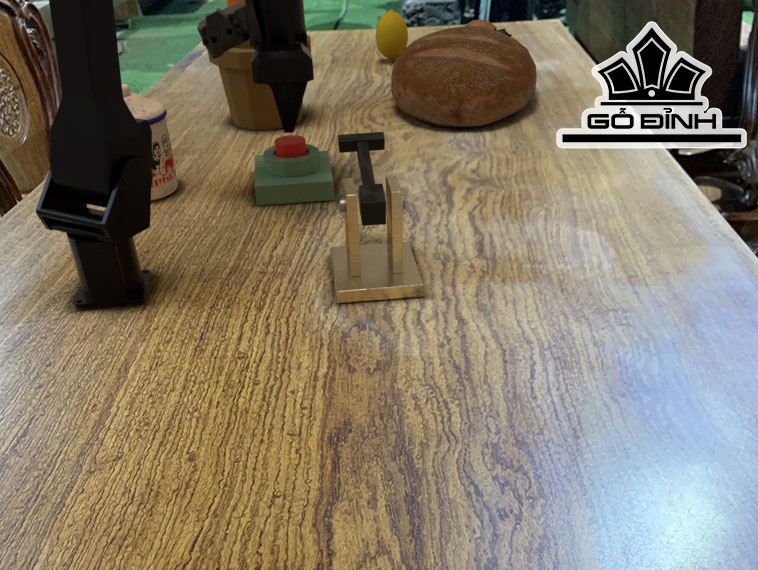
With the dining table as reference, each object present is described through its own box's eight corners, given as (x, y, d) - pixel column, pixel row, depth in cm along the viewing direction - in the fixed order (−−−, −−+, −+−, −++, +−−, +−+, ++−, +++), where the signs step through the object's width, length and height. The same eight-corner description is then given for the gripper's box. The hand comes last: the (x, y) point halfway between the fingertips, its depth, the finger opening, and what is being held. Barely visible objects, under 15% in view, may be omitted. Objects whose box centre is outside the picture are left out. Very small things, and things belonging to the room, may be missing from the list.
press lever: (338, 151, 82) (337, 128, 80) (383, 148, 83) (383, 125, 81) (349, 227, 76) (348, 204, 74) (398, 223, 76) (398, 200, 74)
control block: (334, 200, 96) (332, 164, 93) (256, 205, 95) (252, 170, 93) (328, 168, 104) (326, 135, 101) (257, 173, 103) (253, 139, 101)
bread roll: (475, 51, 150) (476, 28, 147) (444, 43, 155) (445, 21, 152) (517, 41, 154) (519, 19, 152) (486, 34, 159) (487, 12, 157)
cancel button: (307, 159, 96) (305, 143, 95) (276, 161, 96) (274, 145, 95) (306, 149, 99) (304, 134, 98) (275, 151, 99) (274, 136, 97)
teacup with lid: (167, 205, 96) (145, 96, 88) (92, 203, 97) (64, 96, 89) (196, 169, 105) (178, 68, 98) (127, 169, 106) (105, 68, 98)
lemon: (372, 65, 144) (370, 12, 138) (381, 57, 148) (380, 6, 142) (403, 66, 142) (402, 13, 137) (411, 59, 146) (411, 6, 141)
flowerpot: (296, 137, 114) (271, -139, 94) (202, 131, 117) (158, -137, 98) (329, 108, 124) (313, -147, 105) (242, 103, 128) (210, -144, 108)
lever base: (330, 258, 84) (324, 169, 78) (409, 252, 84) (408, 163, 78) (337, 303, 76) (330, 208, 70) (423, 296, 77) (423, 201, 71)
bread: (380, 132, 114) (378, 65, 109) (400, 66, 142) (400, 10, 137) (540, 132, 113) (546, 64, 107) (529, 65, 140) (534, 8, 135)
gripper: (199, -37, 92) (221, 113, 102) (188, -9, 78) (215, 163, 88) (299, -42, 93) (311, 107, 103) (307, -15, 79) (320, 156, 89)
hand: (289, 131), depth 96 cm, fingers closed
